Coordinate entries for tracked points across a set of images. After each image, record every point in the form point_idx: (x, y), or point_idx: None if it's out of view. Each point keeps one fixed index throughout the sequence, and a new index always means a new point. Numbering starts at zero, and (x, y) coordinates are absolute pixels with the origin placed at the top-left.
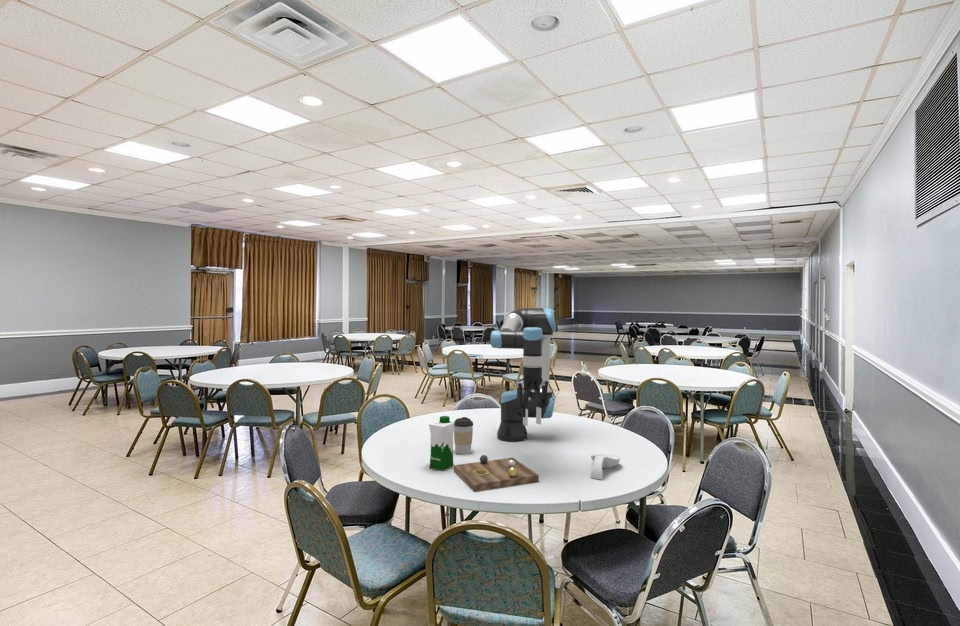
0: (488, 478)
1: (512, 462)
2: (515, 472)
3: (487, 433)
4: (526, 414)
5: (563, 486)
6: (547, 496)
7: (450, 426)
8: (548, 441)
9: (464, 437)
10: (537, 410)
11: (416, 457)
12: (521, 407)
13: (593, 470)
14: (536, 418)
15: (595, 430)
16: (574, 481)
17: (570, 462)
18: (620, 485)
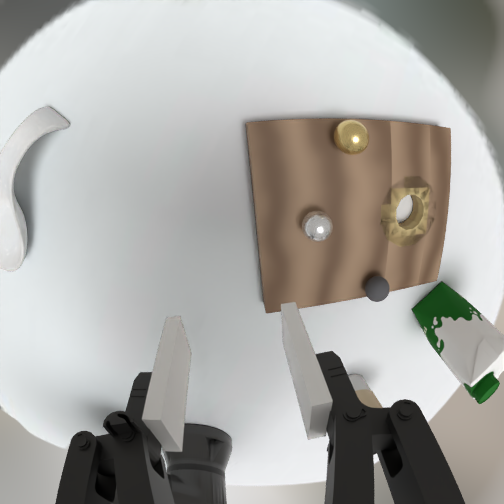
0: (412, 152)
1: (321, 216)
2: (348, 120)
3: (242, 457)
4: (314, 364)
5: (180, 68)
6: (269, 16)
7: (486, 360)
8: (117, 408)
9: (369, 403)
10: (177, 418)
11: (435, 358)
12: (393, 407)
13: (50, 122)
14: (187, 373)
15: (30, 412)
16: (125, 103)
17: (83, 270)
18: (32, 70)
